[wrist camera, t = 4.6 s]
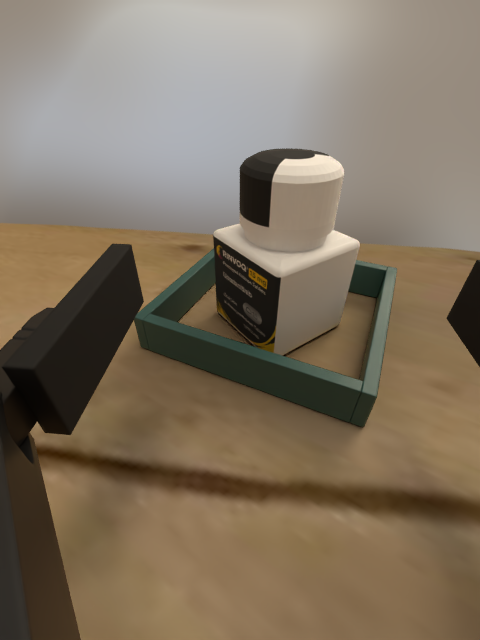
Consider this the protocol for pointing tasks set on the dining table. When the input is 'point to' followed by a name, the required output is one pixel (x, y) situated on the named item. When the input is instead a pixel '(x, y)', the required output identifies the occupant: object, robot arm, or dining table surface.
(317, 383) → the tray
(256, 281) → the medicine bottle
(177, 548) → the dining table surface
